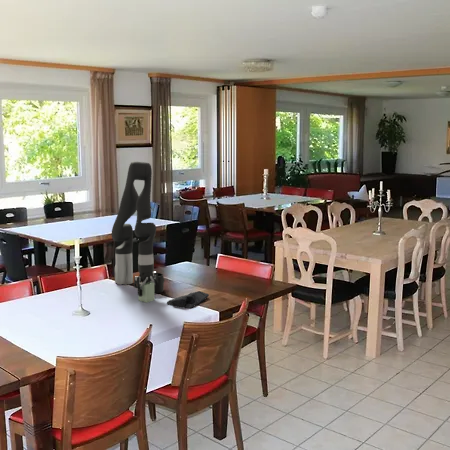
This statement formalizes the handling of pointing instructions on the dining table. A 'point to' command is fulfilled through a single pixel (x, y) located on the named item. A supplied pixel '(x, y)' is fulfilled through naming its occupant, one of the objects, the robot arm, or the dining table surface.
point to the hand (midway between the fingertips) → (146, 294)
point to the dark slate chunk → (188, 300)
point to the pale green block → (147, 293)
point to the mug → (159, 284)
